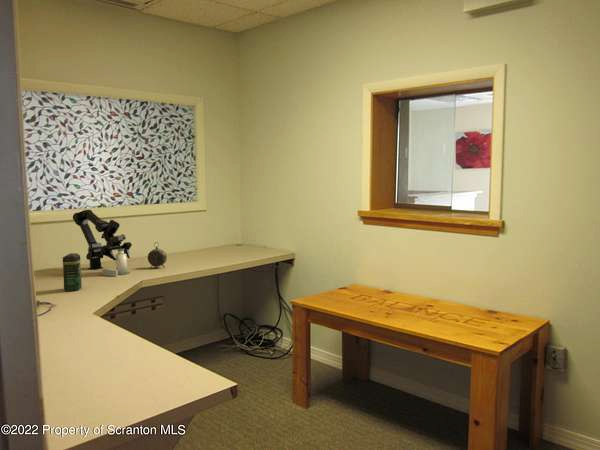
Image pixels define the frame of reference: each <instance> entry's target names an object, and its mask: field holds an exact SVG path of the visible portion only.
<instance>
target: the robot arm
mask: <svg viewBox="0 0 600 450" xmlns="http://www.w3.org/2000/svg"><path fill="white" fill-rule="evenodd" d="M72 220H73V221H74V223H75V224H76V225H77V226H78V227H79V228H80V229H81V232H82V234H83V235H84V238H85V241H86V242H87V245H88V248H87V254H86V256H85V258H86V260H88V261H89V267H88V268H87V269H88V270H95V271H96V270H98V269H104V267H103V266H102V261H101V259H103V258H104V256H106V257H108V258H109V259H111V260H114V261H115V262H116V255H115V254H114V252H113V251H118V249H124V254H126V256H127V259H130V258H131V256H130V249H131V247H132V245H133V244H132V242H129V241H127V242H123V241H125V240H126V239H127V237H126V235H125V234H120V235H119V234H118V235H115V234H116V233H117V232H118V230H119V228H120V223H119V222H118V221H116V220H115V219H111V220H109V221H107V220H103V219H101V218H100V217H99V216H98V215H97V214H95V212H93V211H92V210H91V209H84V210H82V211H79V212H78V211H77V212H75V213H73V215H72ZM89 221H90V223H92V225H94V228H95V230H96V231H97V232H98V233H102V234H101V237H100V238H101V239H104V240H105V242H106V243H105V244H106V245H105V244H104V245H102V243H101V242H97V239H96V238H95V236H94V233H93V231H92V229H91V227H90V225H89ZM122 243H123V244H122ZM121 244H122V245H121Z"/></svg>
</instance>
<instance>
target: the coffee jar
mask: <svg viewBox="0 0 600 450" xmlns="http://www.w3.org/2000/svg"><path fill="white" fill-rule="evenodd" d="M81 261H82V260H81V255H80V254H79V253H78V252H77V253H73V252H71V253H69V254H66V255H65V256H63V257H62V267H63V268H62V269H63V271H62V272H63V290H64V291H66V292H74V291H79V290H81V289H82V286H83V285H82V271H81V270H82V269H81V265H82V264H81Z"/></svg>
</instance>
